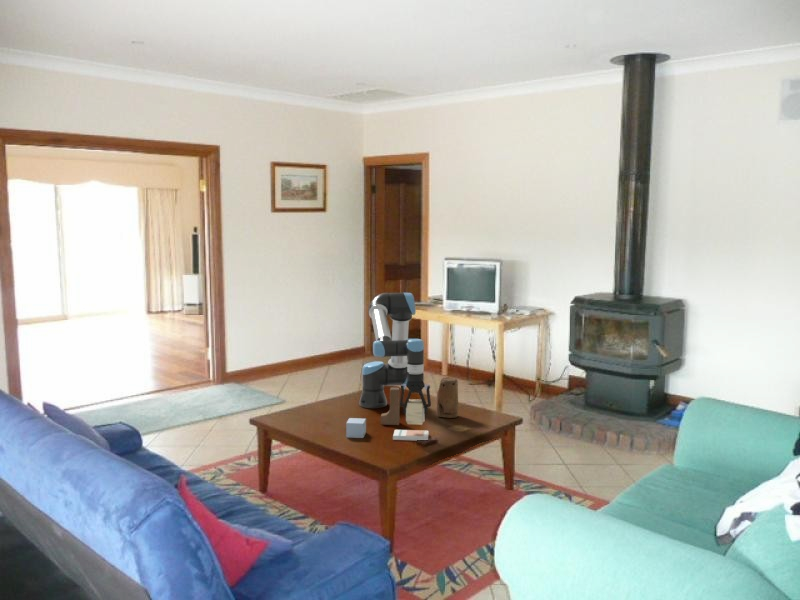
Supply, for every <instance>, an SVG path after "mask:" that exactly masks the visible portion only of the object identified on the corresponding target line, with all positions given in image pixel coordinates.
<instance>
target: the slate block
mask: <svg viewBox="0 0 800 600" xmlns="http://www.w3.org/2000/svg"><path fill="white" fill-rule="evenodd" d="M345 425H346V426H345V427H346V428H345V429H346V430H345V431H346V432H345V433H346V434H345V435H346V438H349V439H351V438H353V439H354V438H355V439H363V438H364V437H365V435H366V434H367V418H360V417H358V418H357V417H355V418H354V417H349V418H348V419H347V420H346V423H345Z"/></svg>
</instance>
